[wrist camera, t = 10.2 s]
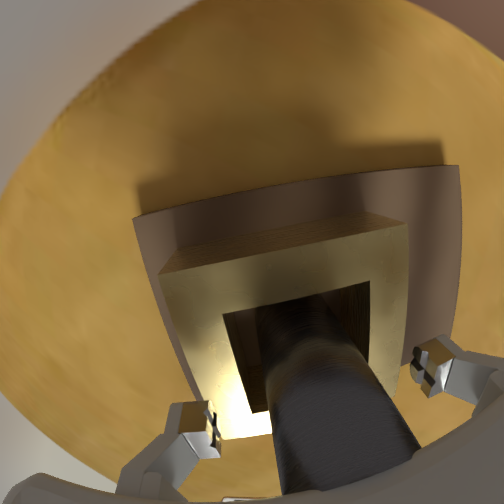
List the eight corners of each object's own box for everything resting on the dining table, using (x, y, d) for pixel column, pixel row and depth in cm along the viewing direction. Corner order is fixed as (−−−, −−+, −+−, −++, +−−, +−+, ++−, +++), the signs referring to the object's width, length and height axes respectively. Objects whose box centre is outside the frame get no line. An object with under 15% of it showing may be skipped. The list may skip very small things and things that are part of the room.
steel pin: (321, 274, 14) (448, 434, 4) (327, 335, 15) (410, 492, 5) (248, 290, 14) (276, 496, 4) (261, 350, 15) (292, 530, 5)
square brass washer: (365, 210, 14) (407, 223, 10) (369, 359, 16) (394, 396, 12) (177, 248, 13) (156, 274, 10) (223, 393, 16) (223, 439, 12)
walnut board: (444, 164, 15) (458, 165, 13) (439, 335, 18) (448, 344, 17) (141, 214, 14) (131, 218, 13) (204, 400, 18) (203, 414, 17)
